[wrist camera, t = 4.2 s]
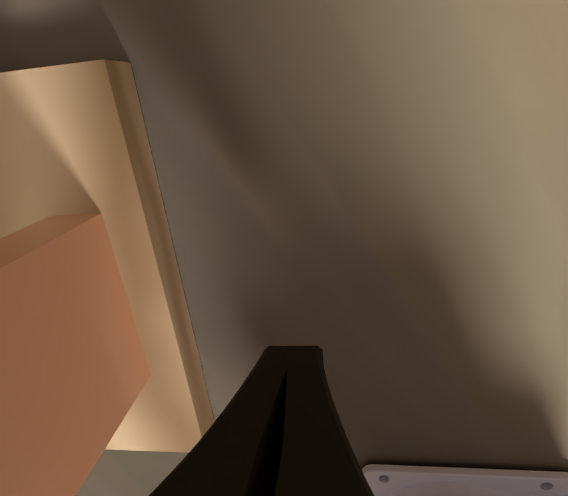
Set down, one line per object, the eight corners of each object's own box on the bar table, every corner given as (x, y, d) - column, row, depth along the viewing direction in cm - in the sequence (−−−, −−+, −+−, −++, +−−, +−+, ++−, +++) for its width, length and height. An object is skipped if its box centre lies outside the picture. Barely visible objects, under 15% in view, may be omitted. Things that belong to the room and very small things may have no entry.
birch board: (130, 62, 12) (104, 59, 10) (215, 425, 18) (205, 453, 17) (-215, 106, 14) (-274, 108, 12) (-32, 418, 20) (-58, 442, 19)
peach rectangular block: (101, 213, 12) (-225, 390, 5) (150, 375, 15) (-17, 642, 8) (47, 216, 13) (-333, 389, 5) (105, 374, 15) (-97, 632, 8)
